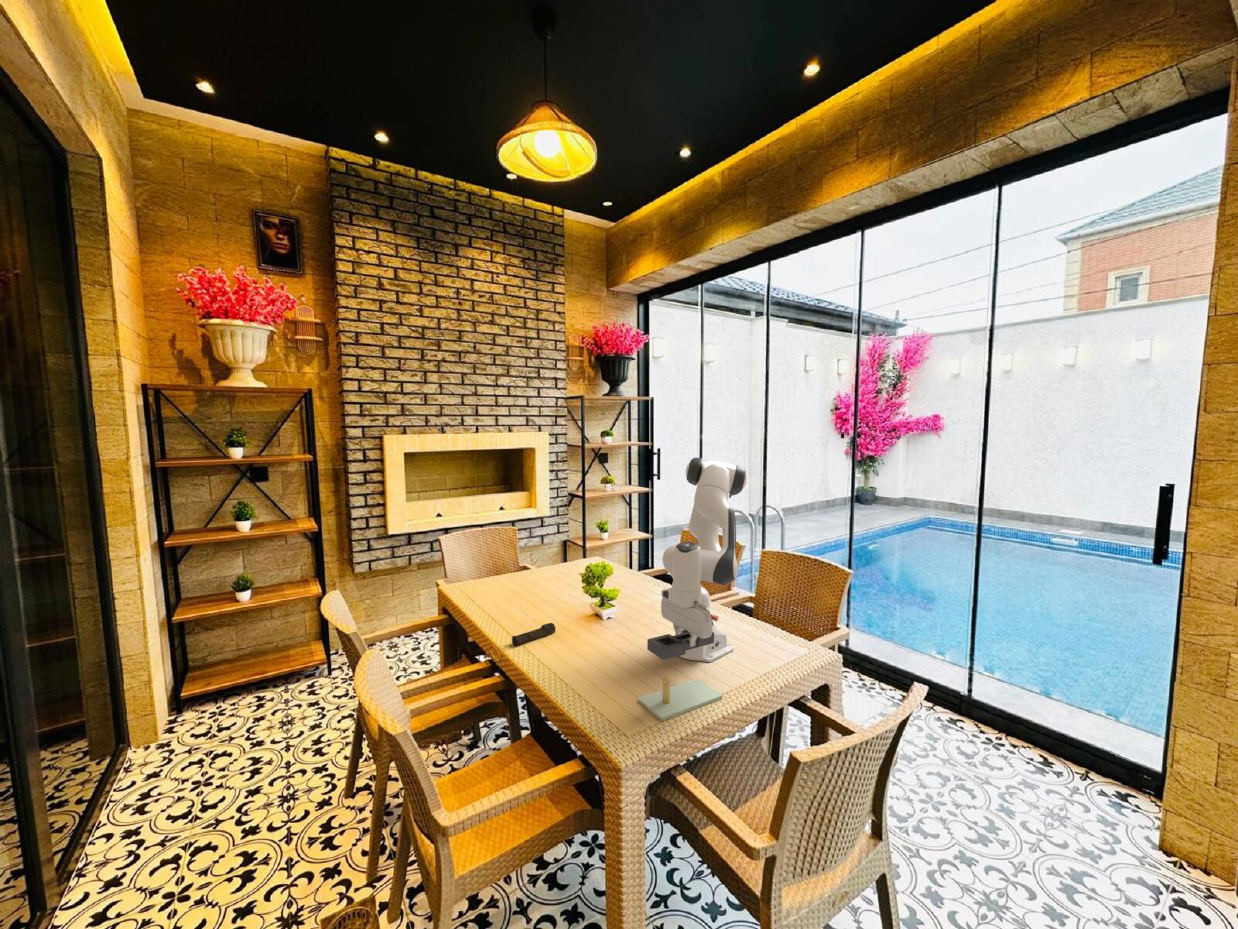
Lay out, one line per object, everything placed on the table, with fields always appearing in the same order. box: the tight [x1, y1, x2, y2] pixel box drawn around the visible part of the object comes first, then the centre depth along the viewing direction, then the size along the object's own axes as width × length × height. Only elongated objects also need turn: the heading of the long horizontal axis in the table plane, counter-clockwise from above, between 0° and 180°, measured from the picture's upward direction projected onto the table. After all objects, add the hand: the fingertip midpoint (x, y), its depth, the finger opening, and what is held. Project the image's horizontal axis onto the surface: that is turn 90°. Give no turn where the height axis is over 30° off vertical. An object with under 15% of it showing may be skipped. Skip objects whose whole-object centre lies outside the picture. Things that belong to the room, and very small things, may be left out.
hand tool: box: [511, 622, 556, 647], centre depth 193 cm, size 19×4×5 cm, turn 130°
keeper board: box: [637, 675, 723, 722], centre depth 151 cm, size 23×12×9 cm, turn 121°
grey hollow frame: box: [646, 632, 714, 661], centre depth 150 cm, size 21×8×3 cm, turn 122°
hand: (685, 641), depth 150 cm, fingers closed on grey hollow frame, 4 cm apart
